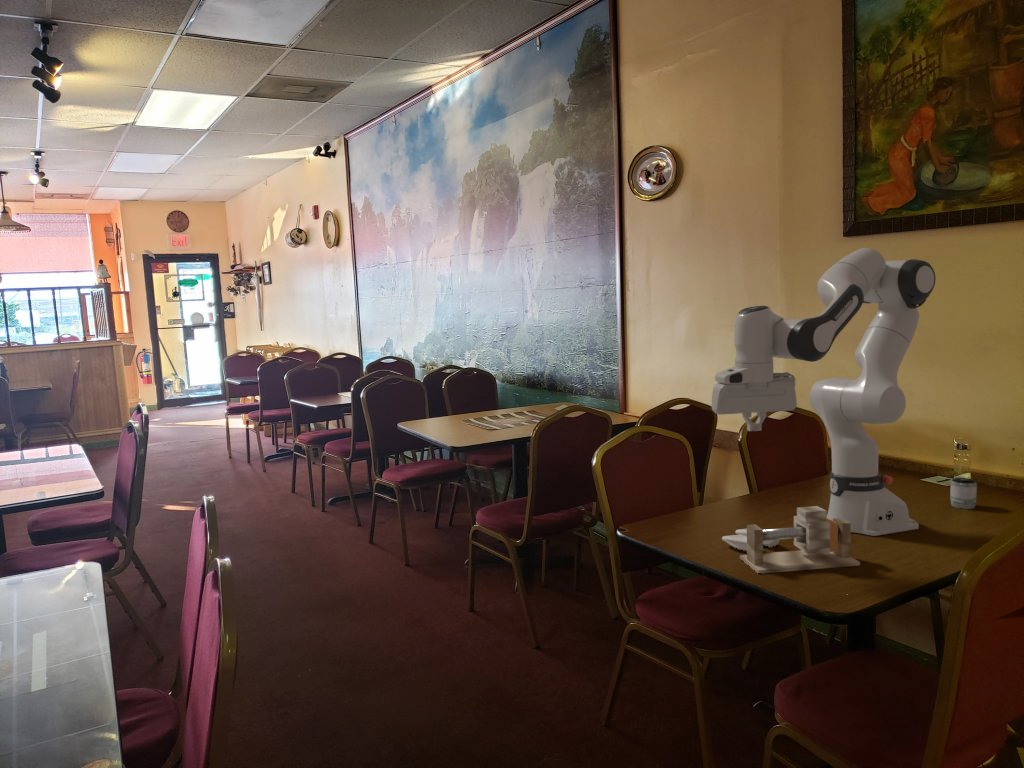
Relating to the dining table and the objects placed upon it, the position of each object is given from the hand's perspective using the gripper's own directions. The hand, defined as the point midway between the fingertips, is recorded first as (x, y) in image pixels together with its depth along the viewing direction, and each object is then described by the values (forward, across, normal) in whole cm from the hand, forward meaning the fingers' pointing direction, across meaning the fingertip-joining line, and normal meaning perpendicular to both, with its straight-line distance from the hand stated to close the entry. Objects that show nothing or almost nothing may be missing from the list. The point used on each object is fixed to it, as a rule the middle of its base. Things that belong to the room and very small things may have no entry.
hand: (754, 430), depth 175 cm
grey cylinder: (+29, -70, -19) cm, 78 cm away
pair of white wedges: (+30, +1, -1) cm, 30 cm away
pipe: (+23, -5, +12) cm, 27 cm away
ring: (+26, -12, +12) cm, 31 cm away
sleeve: (+26, -8, +12) cm, 30 cm away
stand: (+29, -5, +12) cm, 32 cm away
